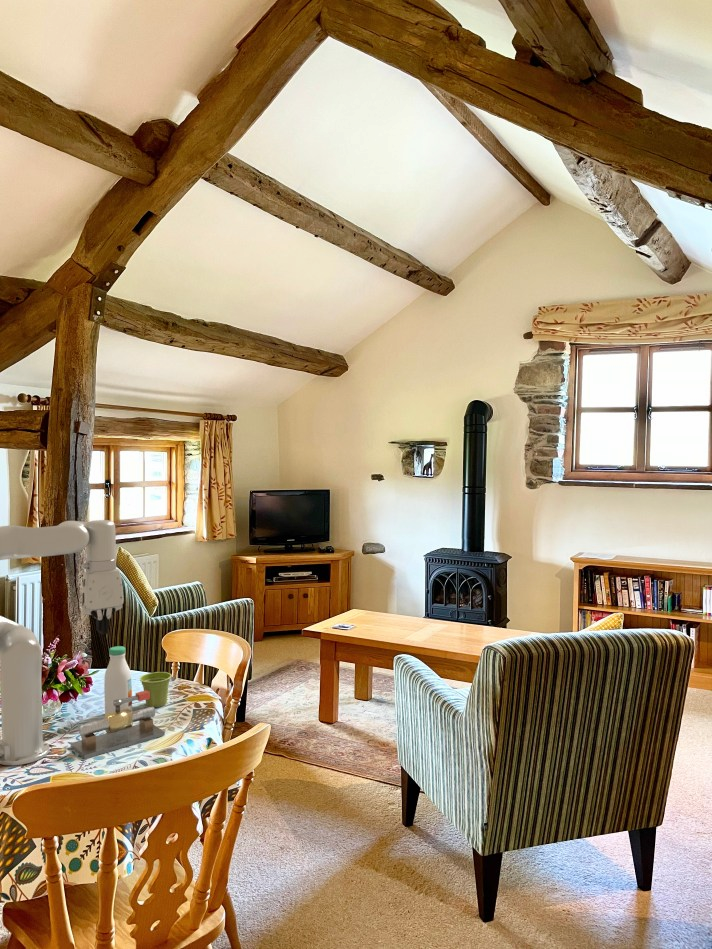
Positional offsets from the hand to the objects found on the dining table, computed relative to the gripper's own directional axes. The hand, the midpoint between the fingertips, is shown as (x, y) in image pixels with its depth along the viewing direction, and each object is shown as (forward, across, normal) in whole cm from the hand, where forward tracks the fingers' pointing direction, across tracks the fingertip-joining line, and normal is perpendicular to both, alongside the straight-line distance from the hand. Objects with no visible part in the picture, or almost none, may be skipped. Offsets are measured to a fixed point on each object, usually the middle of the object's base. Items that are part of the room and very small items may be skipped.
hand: (103, 633), depth 191 cm
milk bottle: (+29, +10, +15) cm, 34 cm away
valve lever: (+19, +6, -4) cm, 21 cm away
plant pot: (+29, +22, +15) cm, 40 cm away
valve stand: (+29, +2, -4) cm, 29 cm away
